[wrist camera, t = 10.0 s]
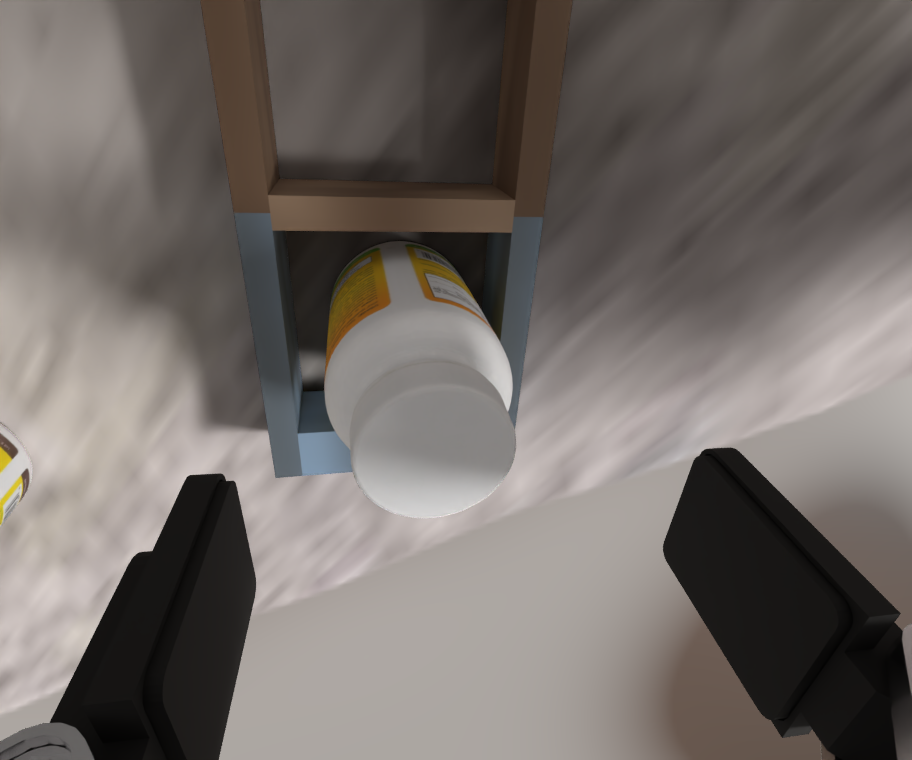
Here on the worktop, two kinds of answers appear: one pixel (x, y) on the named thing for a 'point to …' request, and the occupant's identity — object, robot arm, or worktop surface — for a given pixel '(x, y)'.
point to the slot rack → (379, 209)
